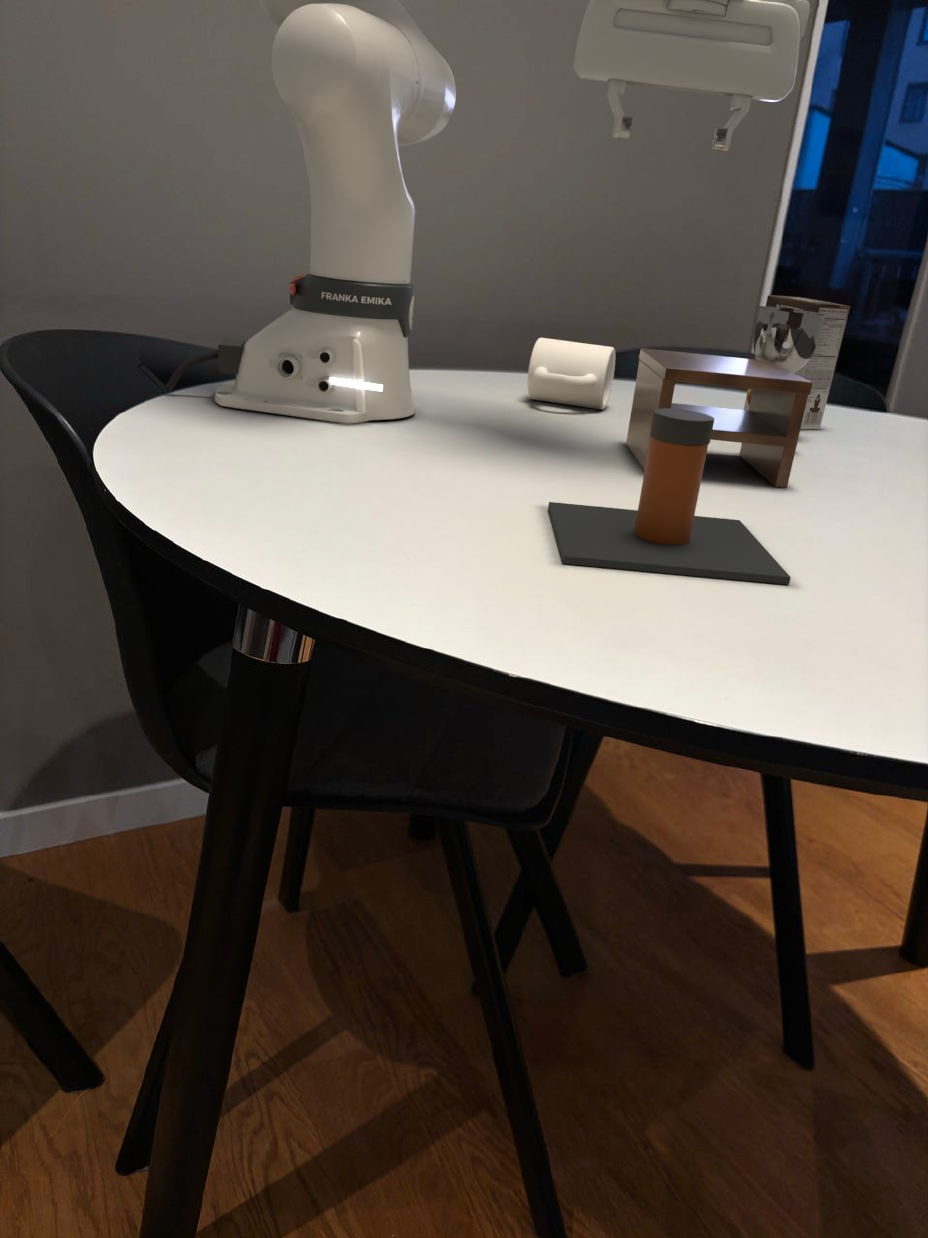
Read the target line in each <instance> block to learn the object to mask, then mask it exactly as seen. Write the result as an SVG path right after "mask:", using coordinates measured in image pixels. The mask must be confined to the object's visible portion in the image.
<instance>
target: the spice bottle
mask: <svg viewBox="0 0 928 1238" xmlns="http://www.w3.org/2000/svg"><path fill="white" fill-rule="evenodd" d="M713 424H714V418H713V417H712V416H709V415H707V414H703V413H699V412H694V411H689V410H681V409H669V408H662V409H655V410H654V411H653V416H652V422H651V428H650V434H649V435H650V442H649V448H648V454H647V460H646V465H645V471H644V470H643V471H644V472H643V478H642V483H641V490H640V495H639V501H638V502H639V503H638V507H637V510H638V513H637V518H636V524H635V530H634V533H635V535H636V536H638V537H639V538H641V539H644V540H646V541H649V542H653V543H658V544H665V545H682V544H686V543H688V542H689V541H690V536H691V531H692V525H693V520H694V516H696V511H697V506H698V505H697V504H698V499H699V493H700V490H701V489H700V488H701V484H702V479H703V473H704V468H705V463H706V457H707V451H708V447H709V445H710V444H711V434H712V429H713Z"/></svg>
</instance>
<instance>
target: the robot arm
mask: <svg viewBox="0 0 928 1238" xmlns="http://www.w3.org/2000/svg"><path fill="white" fill-rule="evenodd" d="M257 1H258V4H260V6H261V8H262V9H263V11H264V13H265V14H266V15H267V17H268V18H269V19H270V20H271V21H272V22H273V23H274V24H275V25H276V26H277V27H279V28H278V30H277V32H276V35H275V37H274V41H273V45H272V50H271V74H272V79H273V82H274V84H275V88H276V91H277V93H278V94H279V97H280V98H281V100H282V101H283V103H284V105H285V106H286V107H287V109H288V110H289V112H290V114H291V116H292V119H293V121H294V124H295V127H296V130H297V134H298V138H299V142H300V146H301V150H302V155H303V159H304V164H305V169H306V174H307V181H308V187H309V199H310V246H309V252H310V253H309V273H307V274H299V275H297V276H295V277H294V278H292V280H291V282H290V284H289V305H291V306H292V308H290V309H289V310H287V311H286V312H284V313H283V314H281V315H280V316H279V317H277V318H276V319H275V320H273V321H272V322H270V323H269V324H267V325H266V326H264V328H262V329H261V330H259V331H258V332H256V333H255V334H254V335H253V336H252V337H250V338H249V339H248V340H244V339H237V338H223V339H222V340H221V341H220V342H219V344H218V345H217V350H213V351H210V352H206V353H202V354H199V355H198V354H197V355H195V356H193V357H191V358H189V359H187V360H185V361H184V362H182V363H181V364H180V365H178V367H177V368H176V369H175V370H174V371H173V373H172V375H171V376H170V377H169V380H168V382H167V383H166V385H165V386H164V389H166V390H167V391H168V392H170V393H171V392H172V391H173V390H174V388H175V387H176V384H177V383H178V381H179V380H180V378H181V377H182V375H183V374H184V373H185V372H186V371H187V370H189V369H190V368H191V367H193V366H195V365H197V364H200V363H204V362H208V361H212V360H215V359H217V368H218V369H217V372H218V373H220V374H229V375H230V374H231V375H235V379H234V380H231V381H229V382H226V383H223V384H221V385H220V386H218V387H217V388H216V390H215V392H214V394H215V395H214V401H215V403H216V404H218V405H219V406H222V407H227V408H233V409H241V410H247V411H253V412H254V411H255V412H262V413H270V414H276V415H283V416H290V417H298V418H306V419H312V420H319V421H327V422H333V423H334V422H335V423H340V424H341V423H342V424H355V423H356V424H357V423H361V422H367V421H383V420H384V421H386V420H397V419H403V418H407V417H411V416H413V415H414V414H416V408H415V403H414V398H413V391H412V384H411V377H410V363H409V362H410V360H409V359H410V358H409V337H410V335H411V331H412V330H413V323H414V322H413V320H414V307H415V295H414V294H415V293H414V291H415V289H414V285H413V284H412V283H411V279H412V263H413V248H414V238H415V237H414V236H415V223H416V208H415V203H414V200H413V198H412V196H411V194H410V193H409V191H408V188H407V185H406V182H405V179H404V174H403V169H402V163H401V156H400V150H399V147H404V146H410V145H415V144H419V143H422V142H425V141H429V140H430V139H433V138H434V137H436V136H438V135H439V134H440V133H441V132H442V131H443V130H444V128H445V127H446V126H447V124H448V123H449V121H450V119H451V118H452V116H453V113H454V110H455V106H456V99H457V86H456V81H455V76H454V73H453V70H452V69H451V66H450V65H449V63H448V62H447V61H446V59H445V58H444V57H443V56H442V54H441V53H440V52H439V51H438V50H437V49H436V48H435V47H434V46H433V44H432V43H431V42H430V41H429V40H428V38H427V37H426V36H425V34H424V32H423V31H422V30H421V29H420V28H419V26H418V25H417V24H416V22H415V21H414V19H413V18H412V16H411V15H410V14H409V12H407V10H406V8H405V7H404V6H403V5H402V4H401V2H400V0H257ZM810 11H811V7H810V1H809V0H589V2H588V4H587V7H586V9H585V12H584V15H583V18H582V22H581V25H580V29H579V32H578V36H577V42H576V47H575V50H574V58H573V62H572V67H573V70H574V72H575V73H576V75H577V77H578V78H579V79H581V80H590V81H597V82H598V81H599V82H607V90H606V91H607V93H606V98H607V100H608V103H609V106H610V109H611V112H612V115H613V117H615V118H614V124H613V130H612V138H614V139H615V138H616V139H624V140H628V139H630V138H631V137H630V136H631V132H632V129H631V126H632V125H633V121H634V117H633V116H627V115H625V112H624V110H623V106H622V103H621V101H620V98H621V97H622V96H623V95H624V94H625V91H626V86H627V85H631V86H638V87H646V88H647V87H648V88H654V89H664V90H672V91H681V92H687V93H694V94H695V93H697V94H703V95H711V96H712V95H713V96H721V97H730V98H731V100H730V106H729V110H730V111H733V112H734V113H733V114H732V115H731V117H730V119H729V120H727V123H725V125H724V127H715V128H714V129H713V132H712V141H711V143H710V150H714V151H723V152H728V151H729V150H730V148H731V142H732V137H733V134H734V130H735V129H736V128H737V127H738V125H739V124H740V123H741V122H742V120H743V119H744V118H745V116H746V115H747V114H748V113H749V111H750V108H751V102H752V100H754V101H761V102H769V103H775V102H780V101H782V100H783V99H785V98H786V97H787V96H789V94H790V93H791V92H792V91H793V90H794V86H795V82H796V76H797V70H798V62H799V53H800V52H799V51H800V40H801V39H802V38H803V36H804V34H805V32H806V30H807V26H808V21H809V17H810V13H811V12H810Z"/></svg>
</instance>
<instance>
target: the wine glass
mask: <svg viewBox="0 0 928 1238" xmlns="http://www.w3.org/2000/svg"><path fill="white" fill-rule="evenodd" d="M824 321H825V314H822V313H817V312H811V311H804V310H796V309H788V308H779V307H766V305H765V306H764V305H760V306H759V305H758V306H757V310H756V314H755V319H754V327H753V340H752V343H753V354H754V358H755V357H756V359H757V360H764V361H769V362H771V363H773V364H775V365H777V366H779V367H781V368H784V369H786V370H788V371H790V372H792V373H794V374H795V373H797V372H798V371H799V370H800V369H801V368H803V367H804V366H805V365H806V364H807V363H808V362H809V360H810V359H811V357H812V355H813V353H814V351H815V349H816V347H817V344H818V342H819V339H820V336H821V333H822V329H823V325H824Z"/></svg>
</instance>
